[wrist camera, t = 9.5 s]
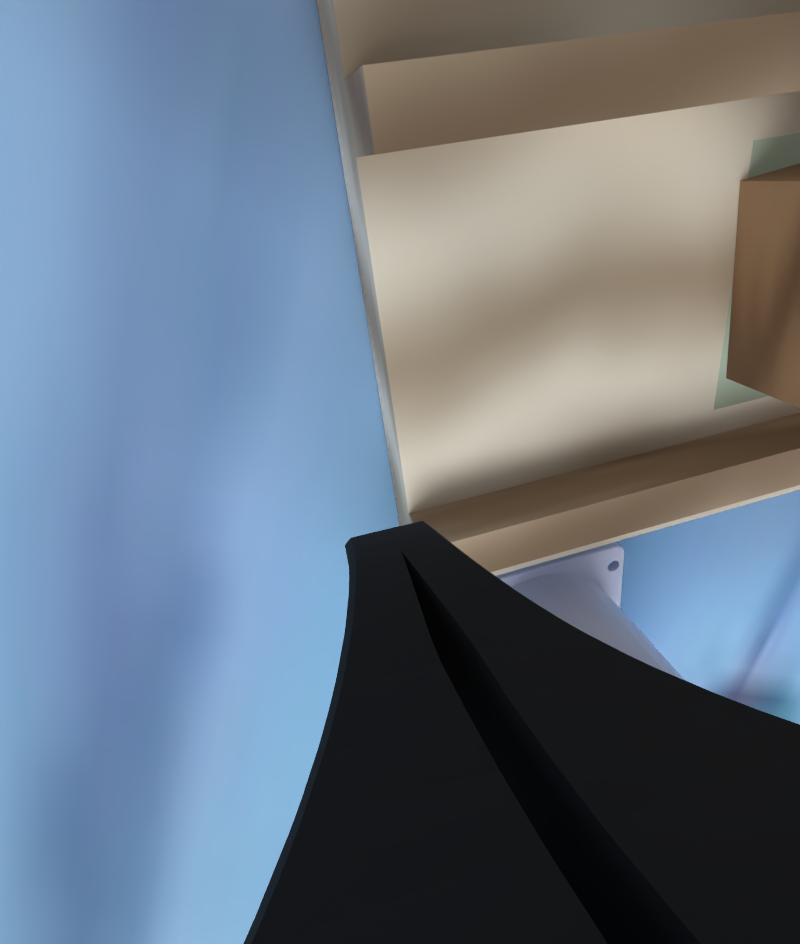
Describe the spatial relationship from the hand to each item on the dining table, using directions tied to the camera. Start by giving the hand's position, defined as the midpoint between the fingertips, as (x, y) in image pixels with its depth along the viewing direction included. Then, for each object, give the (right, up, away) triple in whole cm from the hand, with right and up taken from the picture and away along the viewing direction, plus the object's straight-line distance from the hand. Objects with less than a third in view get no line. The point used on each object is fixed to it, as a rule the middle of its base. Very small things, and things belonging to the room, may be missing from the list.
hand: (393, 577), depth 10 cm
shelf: (+14, +9, +10) cm, 19 cm away
